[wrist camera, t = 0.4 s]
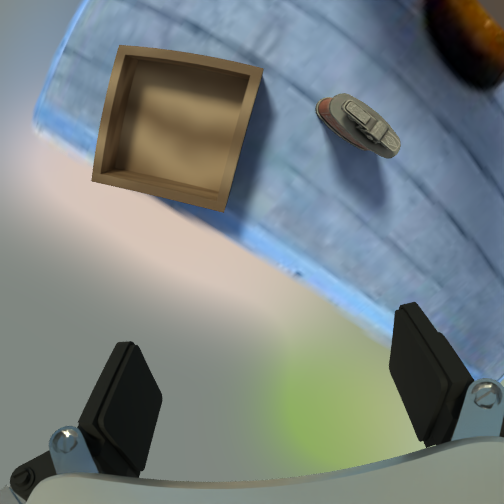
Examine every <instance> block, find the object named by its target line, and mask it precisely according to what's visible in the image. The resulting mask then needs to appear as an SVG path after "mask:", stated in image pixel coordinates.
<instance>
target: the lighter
mask: <svg viewBox="0 0 504 504" xmlns="http://www.w3.org/2000/svg"><path fill="white" fill-rule="evenodd" d="M315 111H316V114H317V116H318V117H319V118H320V119H321V120H322V121H323V122H324V123H325V124H326V125H327V126H328V127H329V128H330V129H331V130H332V131H333V132H334V133H336V134H337V135H338V136H339V137H341V138H342V139H344V140H345V141H347V142H348V143H350V144H352V145H354V146H355V147H357V148H359V149H362V150H365V151H366V150H370V151H372V152H374V153H376V154H378V155H379V156H381V157H384V158H392V157H394V156H395V155H396V154H397V153H398V152H399V150H400V146H401V144H400V139H399V137H398V136H397V134H396V133H395V132H394V130H393V129H392V128H391V127H390V125H389V124H388V123H387V122H386V121H385V120H384V119H383V118H382V117H381V116H380V115H379V114H378V113H377V112H376V111H374V110H373V109H372V108H370V107H369V106H368V105H366V104H365V103H363V102H362V101H360V100H358V99H356V98H354V97H353V96H351V95H349V94H346V93H344V94H338V95H336V96H334V97H333V98H330V97H327V98H323V99H321V100H320V101H319V102H318V103H317V105H316V108H315Z"/></svg>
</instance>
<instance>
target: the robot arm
mask: <svg viewBox="0 0 504 504" xmlns="http://www.w3.org/2000/svg"><path fill="white" fill-rule="evenodd" d="M389 370H390V373H391V376H392V378H393V380H394V382H395V385H396V387H397V389H398V392H399V394H400V396H401V398H402V401H403V403H404V406H405V408H406V411H407V413H408V415H409V418H410V420H411V423H412V425H413V428H414V430H415V433H416V435H417V438H418V440H419V441H420V442H421V441H424V444H425V446H426V448H425V449H422V450H419V451H416V452H412V453H409V454H406V455H402V456H399V457H394V458H391V459H387V460H383V461H379V462H375V463H370V464H366V465H362V466H357V467H353V468H348V469H343V470H337V471H332V472H326V473H320V474H313V475H306V476H299V477H290V478H280V479H270V480H258V481H257V480H256V481H238V482H237V481H235V482H189V481H169V480H155V479H143V478H139V475H140V471H143V470H144V468H145V465H146V461H147V457H148V453H149V449H150V445H151V441H152V438H153V433H154V430H155V426H156V422H157V419H158V415H159V411H160V408H161V404H162V394H161V391H160V389H159V388H158V385H157V383H156V381H155V379H154V377H153V375H152V373H151V371H150V369H149V367H148V365H147V363H146V361H145V359H144V357H143V354H142V352H141V350H140V348H139V346H138V345H135V344H134V343H133V342H131V341H130V342H118V343H117V344H116V346H115V348H114V349H113V351H112V353H111V355H110V357H109V359H108V361H107V363H106V365H105V367H104V369H103V371H102V373H101V375H100V377H99V379H98V381H97V383H96V385H95V387H94V389H93V391H92V393H91V396H90V398H89V400H88V402H87V404H86V406H85V408H84V410H83V413H82V415H81V417H80V419H79V421H78V422H79V426H78V427H77V428H76V427H74V426H65V427H62V428H60V429H58V430H57V431H55V432H54V434H52V436H51V438H50V440H49V451H47V452H45V453H44V454H42V455H40V456H38V457H36V458H34V459H32V460H30V461H28V462H27V463H25V464H23V465H21V466H19V467H18V468H16V469H15V471H14V472H13V473H12V475H11V478H10V484H11V486H10V487H9V486H7V485H6V486H5V487H3V488H2V489H1V490H0V504H504V387H503V386H502V385H501V384H500V383H499V382H497V381H496V380H493V379H489V378H482V379H478V380H476V381H474V379H473V378H472V376H471V375H470V373H469V372H468V370H467V369H466V367H465V366H464V364H463V363H462V361H461V360H460V358H459V357H458V355H457V354H456V352H455V351H454V349H453V348H452V346H451V345H450V344H449V342H448V341H447V339H446V338H445V336H444V335H443V334H442V333H440V332H437V330H436V329H435V328H434V326H433V325H432V323H431V322H430V321H429V319H428V318H427V316H426V315H425V314H424V312H423V311H422V310H421V308H420V307H419V306H418V304H417V303H416V302H412V303H408V304H403V305H400V307H399V310H396V311H395V317H394V328H393V337H392V346H391V355H390V361H389ZM433 445H436V446H433ZM430 446H433V447H430ZM427 447H429V448H427Z"/></svg>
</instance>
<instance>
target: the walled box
mask: <svg viewBox="0 0 504 504" xmlns="http://www.w3.org/2000/svg"><path fill="white" fill-rule="evenodd" d="M262 74H263V68H259V67H255V66H251V65H247V64H243V63H238V62H234V61H229V60H224V59H220V58H214V57H209V56H204V55H198V54H192V53H186V52H179V51H172V50H165V49H157V48H148V47H138V46H126V45H119V48H118V51H117V55H116V58H115V62H114V66H113V69H112V73H111V77H110V81H109V85H108V90H107V94H106V98H105V103H104V108H103V112H102V117H101V123H100V128H99V134H98V139H97V145H96V152H95V158H94V165H93V173H92V182H97V183H102V184H106V185H111V186H115V187H119V188H124V189H128V190H132V191H137V192H141V193H145V194H150V195H154V196H158V197H162V198H167V199H171V200H175V201H179V202H183V203H187V204H191V205H195V206H199V207H203V208H207V209H211V210H215V211H219V212H223V213H224V210H225V207H226V204H227V201H228V197H229V193H230V190H231V186H232V182H233V178H234V174H235V171H236V167H237V163H238V159H239V156H240V152H241V148H242V145H243V141H244V138H245V134H246V130H247V127H248V123H249V120H250V116H251V113H252V109H253V106H254V102H255V99H256V95H257V92H258V88H259V85H260V82H261V78H262Z"/></svg>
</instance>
